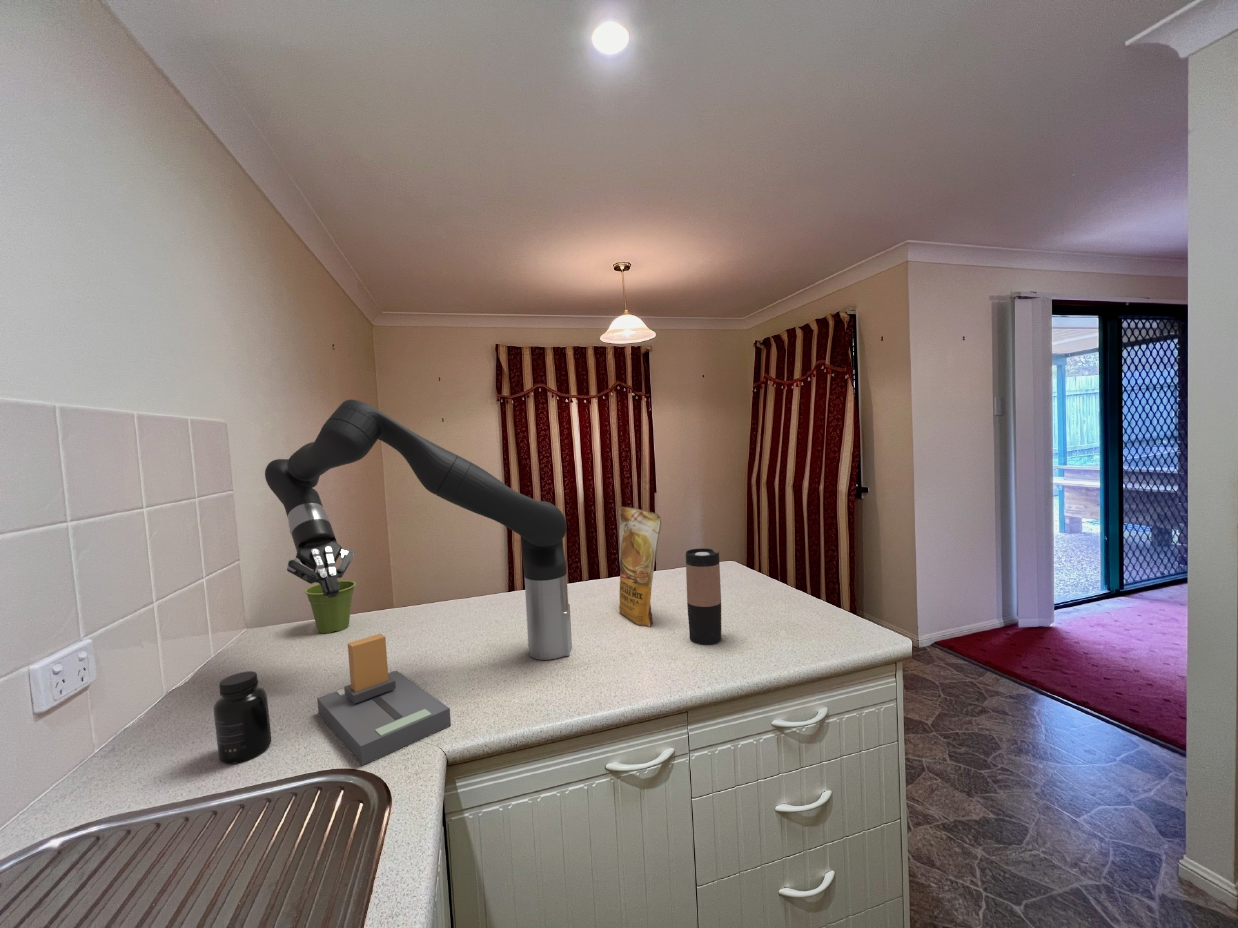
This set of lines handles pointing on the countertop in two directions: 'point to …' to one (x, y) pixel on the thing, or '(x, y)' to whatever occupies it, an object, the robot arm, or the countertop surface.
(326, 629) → the plant pot
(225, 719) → the supplement bottle
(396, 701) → the switch console
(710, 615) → the travel mug
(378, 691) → the handle
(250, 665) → the countertop surface
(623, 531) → the pancake mix bag
